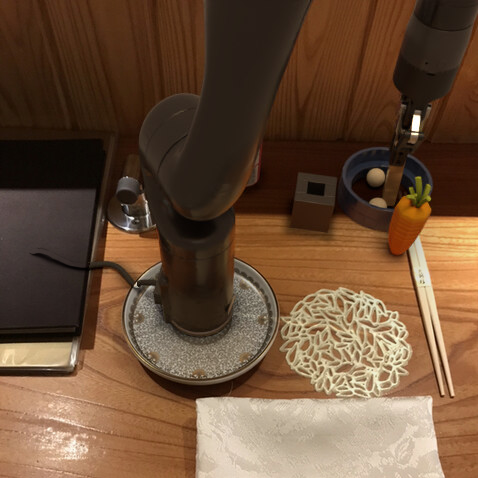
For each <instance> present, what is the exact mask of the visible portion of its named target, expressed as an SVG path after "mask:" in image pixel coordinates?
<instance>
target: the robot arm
mask: <svg viewBox="0 0 478 478" xmlns="http://www.w3.org/2000/svg"><path fill="white" fill-rule="evenodd" d="M314 1H315V0H203V1H202V3H203V4H202V5H203V35H204V41H203V42H204V64H203V65H204V66H203V78H202V84H201V90H200V94H199V95H198V94H194V93H187V92H183V93H176V94H171V95H170V96H168V97H165V98H163V99H162V100H160V101H159V102H158V103H156V105H154V106H153V107H152V108H151V109H150V110H149V112H148V113H147V115H146V116H145V118H144V120H143V123H142V125H141V127H140V130H139V133H138V134H139V135H138V141H137V142H138V145H137V146H138V147H137V148H138V149H137V150H138V157H139V165H140V170H141V175H142V181H143V186H144V190H145V191H144V192H145V196H146V201H147V205H148V209H149V211H150V214H151V217H152V219H153V223H154V224H155V225H154V226H155V228H156V235H157V241H158V248H159V255H160V263H161V265H160V267H159V272H158V275H157V279H151V278H150V279H149V278H147V279H146V278H144V279H143V278H142V279H138V280H137V281H136V280H135V279H134V278H133V277H132V276H131V275H130V274H129V272H128V271H127V270H126V269H125V268H124V267H123V266H122V265H120V264H119V263H117V262H114V261H110V260H97V261H91V263H90V262H89V263H90V265H89V268H88V269H95V268H111V269H113V270H115V271H117V272H118V273H119V275H121V276H122V277H123V279H124V280H125V282H126V283H128V285H129V286H131V287H132V286H133V285H134V283H135V282H137V286H138V287H139V288H138V289H140V288H141V287H143V286H146V287H154V289H153V291H152V295H153V303H154V305H157V306H161V307H162V312H163V319H164V322H165V323H168V324H172V325H173V327H174V328H175V329H177V330H178V331H179V332H180V333H182V334H185V335H187V336H191V337H197V338H203V337H209V336H213V335H215V334H217V333H219V332H221V331H222V330H224V329H225V328H226V326H227V325H229V323H230V321H231V320H232V317H233V314H234V302H235V300H236V294H237V293H236V291H235V292H234V281H235V279H234V277H235V253H236V225H237V224H236V223H237V221H236V212H235V208H234V204H235V203H236V202H237V200H238V199H239V198H240V197H241V196H242V194H243V192H244V190H245V189H246V188H247V187H246V185H247V183H248V181H249V179H250V177H251V174H252V171H253V168H254V165H255V162H256V159H257V156H258V152H259V149H260V146H261V142H262V139H263V140H264V135H265V132H266V129H267V126H268V122H269V119H270V116H271V112H272V109H273V107H274V103H275V100H276V96H277V94H278V91H279V88H280V86H281V83H282V80H283V79H284V75H285V73H286V70H287V68H288V66H289V63H290V60H291V58H292V55H293V52H294V50H295V48H296V45H297V43H298V39H299V38H300V37H299V36H300V34H301V31H302V29H303V27H304V24H305V22H306V19H307V16H308V14H309V12H310V9H311V7H312V5H313V3H314ZM477 16H478V0H415V4H414V7H413V10H412V13H411V15H410V17H409V19H408V22H407V23H406V28H405V30H404V34H403V38H402V41H401V44H400V47H399V52H398V55H397V59H396V62H395V66H394V69H393V72H392V83H393V85H394V88H396V89H397V91H398V92H399V94H398V103H397V105H396V109H395V113H394V116H395V119H396V120H395V123H394V124H393V135H392V138H391V141H390V144H389V147H388V148H389V153H391V155H390V158H389V165H391V166H398V167H402V166H404V164H405V161H406V158H407V155H408V154H410V155H414V154H415V152H416V151H417V149H418V148H419V147H420V145H421V144H422V143H423V141H424V140H425V137H426V135H425V131H423V128H424V126H425V123H426V120H427V119H428V118H429V116H430V114H431V111H432V107H433V105H432V102H434V101H436V100H440V99H442V98H444V97H445V96H447V95H448V94H449V93H450V91H451V89H452V87H453V84H454V81H455V79H456V76H457V74H458V71H459V69H460V66H461V63H462V61H463V58H464V55H465V53H466V51H467V49H468V46H469V43H470V40H471V36H472V32H473V28H474V24H475V21H476V19H477ZM396 134H397V135H396ZM395 135H396V138H395ZM394 139H395V140H394ZM262 143H263V142H262ZM393 144H394V146H393ZM392 148H393V149H392Z"/></svg>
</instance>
